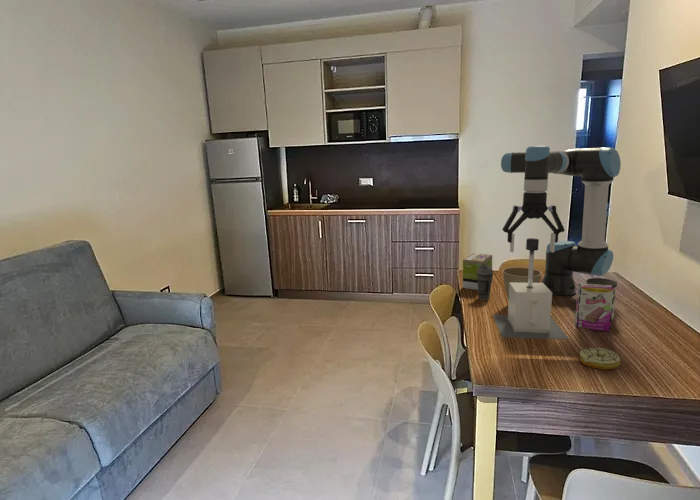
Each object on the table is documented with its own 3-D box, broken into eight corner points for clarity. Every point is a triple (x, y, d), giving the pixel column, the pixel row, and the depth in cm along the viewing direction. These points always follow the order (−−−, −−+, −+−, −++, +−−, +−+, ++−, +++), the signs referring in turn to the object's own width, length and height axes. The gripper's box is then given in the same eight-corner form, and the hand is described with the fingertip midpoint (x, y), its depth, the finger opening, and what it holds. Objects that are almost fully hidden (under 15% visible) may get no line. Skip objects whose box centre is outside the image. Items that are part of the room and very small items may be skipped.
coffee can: (583, 310, 177) (585, 276, 174) (612, 313, 172) (615, 279, 169) (584, 318, 168) (587, 284, 165) (615, 322, 163) (619, 286, 160)
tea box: (473, 280, 223) (473, 252, 220) (492, 283, 217) (493, 254, 214) (462, 288, 211) (462, 258, 208) (482, 291, 205) (483, 261, 202)
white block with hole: (540, 320, 165) (542, 282, 162) (551, 336, 151) (554, 295, 147) (507, 319, 167) (509, 282, 164) (515, 335, 153) (517, 294, 149)
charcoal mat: (550, 318, 169) (550, 315, 169) (569, 342, 148) (569, 339, 148) (492, 316, 173) (492, 314, 172) (502, 339, 152) (502, 337, 151)
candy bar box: (576, 329, 158) (579, 286, 155) (574, 324, 163) (577, 282, 159) (611, 332, 154) (615, 288, 151) (607, 327, 159) (612, 284, 156)
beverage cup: (490, 295, 198) (491, 253, 194) (494, 301, 191) (495, 257, 187) (474, 295, 199) (475, 253, 194) (477, 301, 192) (478, 257, 187)
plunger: (539, 298, 162) (543, 236, 157) (546, 307, 153) (550, 242, 148) (512, 298, 164) (515, 236, 158) (518, 307, 154) (521, 242, 149)
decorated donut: (576, 354, 139) (577, 343, 139) (614, 358, 136) (615, 347, 135) (582, 369, 130) (583, 357, 129) (623, 373, 126) (624, 361, 126)
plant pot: (546, 312, 175) (549, 274, 172) (512, 316, 173) (514, 277, 169) (526, 301, 190) (528, 265, 186) (494, 303, 187) (496, 268, 184)
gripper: (570, 190, 151) (565, 249, 156) (495, 191, 155) (493, 249, 160) (577, 191, 144) (572, 253, 148) (499, 193, 148) (497, 253, 152)
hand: (531, 251), depth 154 cm, fingers open, 13 cm apart
